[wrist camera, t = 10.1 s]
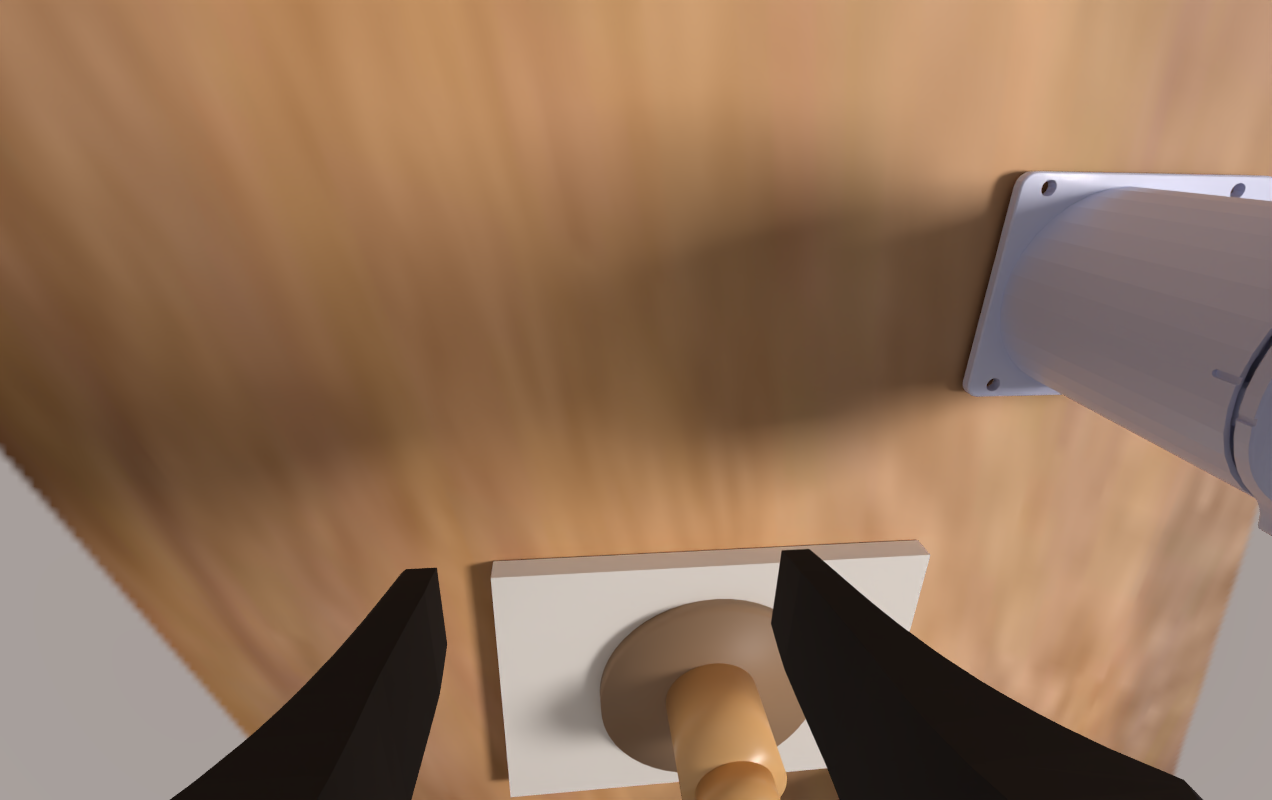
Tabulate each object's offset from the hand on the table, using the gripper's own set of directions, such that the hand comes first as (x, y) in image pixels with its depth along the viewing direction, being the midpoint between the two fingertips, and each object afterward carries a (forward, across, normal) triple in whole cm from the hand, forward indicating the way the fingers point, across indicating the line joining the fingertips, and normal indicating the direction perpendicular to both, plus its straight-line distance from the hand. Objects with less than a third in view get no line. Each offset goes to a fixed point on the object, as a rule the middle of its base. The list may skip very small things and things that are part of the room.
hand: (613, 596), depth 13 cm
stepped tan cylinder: (+8, -5, +13) cm, 17 cm away
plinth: (+10, -5, +14) cm, 18 cm away
